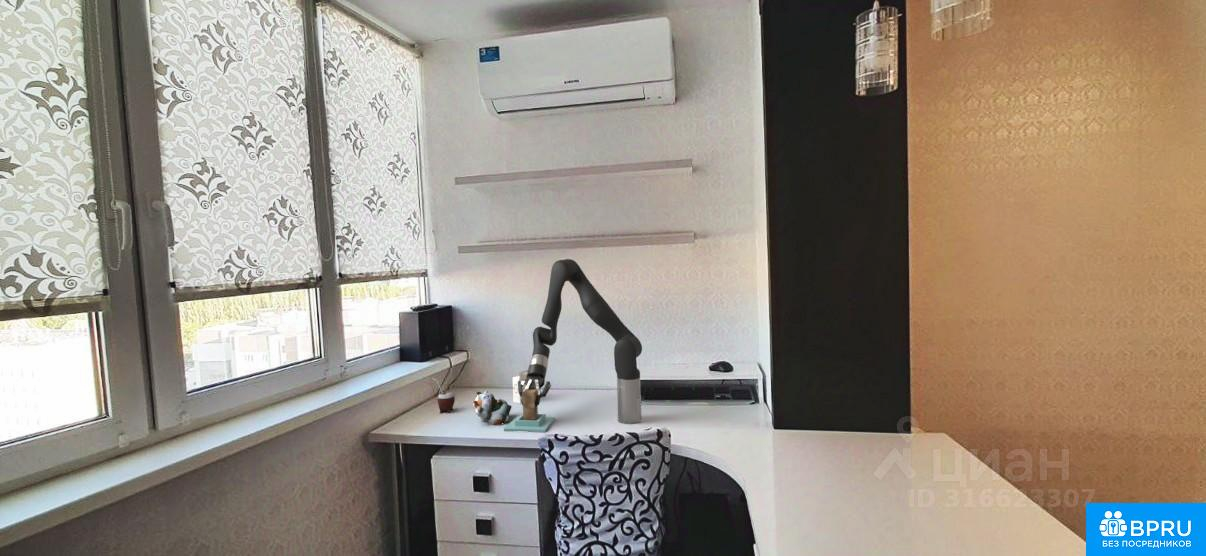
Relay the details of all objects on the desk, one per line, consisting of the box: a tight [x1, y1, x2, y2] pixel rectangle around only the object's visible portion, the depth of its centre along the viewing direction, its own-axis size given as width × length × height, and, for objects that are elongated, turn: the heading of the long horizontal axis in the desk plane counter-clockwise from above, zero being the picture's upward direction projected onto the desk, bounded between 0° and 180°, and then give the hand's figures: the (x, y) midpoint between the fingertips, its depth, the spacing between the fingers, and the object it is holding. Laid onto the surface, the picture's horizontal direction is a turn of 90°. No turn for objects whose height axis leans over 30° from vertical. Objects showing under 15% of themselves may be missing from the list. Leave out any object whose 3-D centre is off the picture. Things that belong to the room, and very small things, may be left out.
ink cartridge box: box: [512, 369, 528, 405], centre depth 223 cm, size 9×5×15 cm, turn 143°
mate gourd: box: [431, 377, 456, 414], centre depth 209 cm, size 8×8×15 cm
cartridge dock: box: [503, 413, 557, 433], centre depth 189 cm, size 16×16×3 cm
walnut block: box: [522, 389, 539, 421], centre depth 189 cm, size 4×4×11 cm
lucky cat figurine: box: [472, 390, 513, 426], centre depth 195 cm, size 15×12×14 cm
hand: (529, 405), depth 188 cm, fingers closed on walnut block, 4 cm apart
